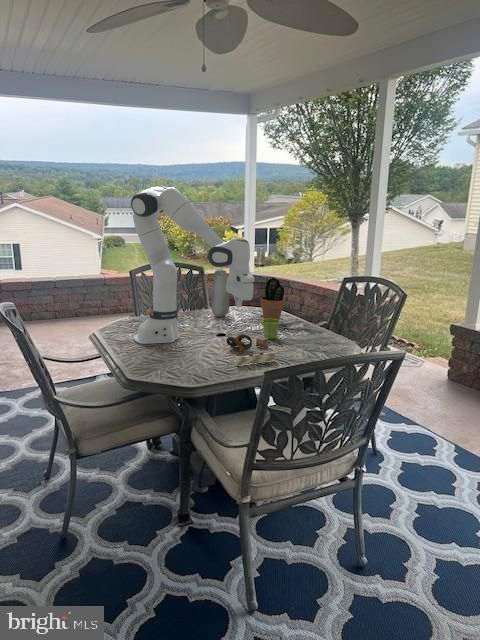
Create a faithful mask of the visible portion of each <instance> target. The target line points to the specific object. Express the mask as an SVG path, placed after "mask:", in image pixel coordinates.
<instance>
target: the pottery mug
mask: <svg viewBox="0 0 480 640" xmlns="http://www.w3.org/2000/svg"><path fill="white" fill-rule="evenodd" d="M245 338H246V340H248V341H249V343H247V344H245V342H243V341H242V340H243V339H245ZM225 342H226V344H227V345H228V346H230V348H231V349H234V348H235V347H238V348H239V349H238V352H239V353H240V352H242V353H243V352H246V351H249V350H250V349H251V348H252V346H253V340H252V338H251V336H249V335H248V334H245V333H243V334H242V333H241V334H238V335H237V336H236V337H233V336H228V337H227V338H226V340H225ZM233 347H234V348H233Z"/></svg>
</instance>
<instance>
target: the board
mask: <svg viewBox="0 0 480 640" xmlns="http://www.w3.org/2000/svg"><path fill="white" fill-rule="evenodd" d="M270 360H275V361H276V352H275V351H271V352H270V351H269V352H265V353H264V352H262V351H259V352H258V353H257V354H254V353H248V355H243V356H236V358H235V365H236V364H237V365H241V364H249V363H257V362H263V361H270Z"/></svg>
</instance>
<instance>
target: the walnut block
mask: <svg viewBox="0 0 480 640" xmlns="http://www.w3.org/2000/svg"><path fill="white" fill-rule="evenodd" d="M257 346H260V347H264V348H266V347H265V346H267V347H268V346H269V339H268V338H265V337H264V336H260V337H256V339H255V347H257ZM260 347H259V348H260Z"/></svg>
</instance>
